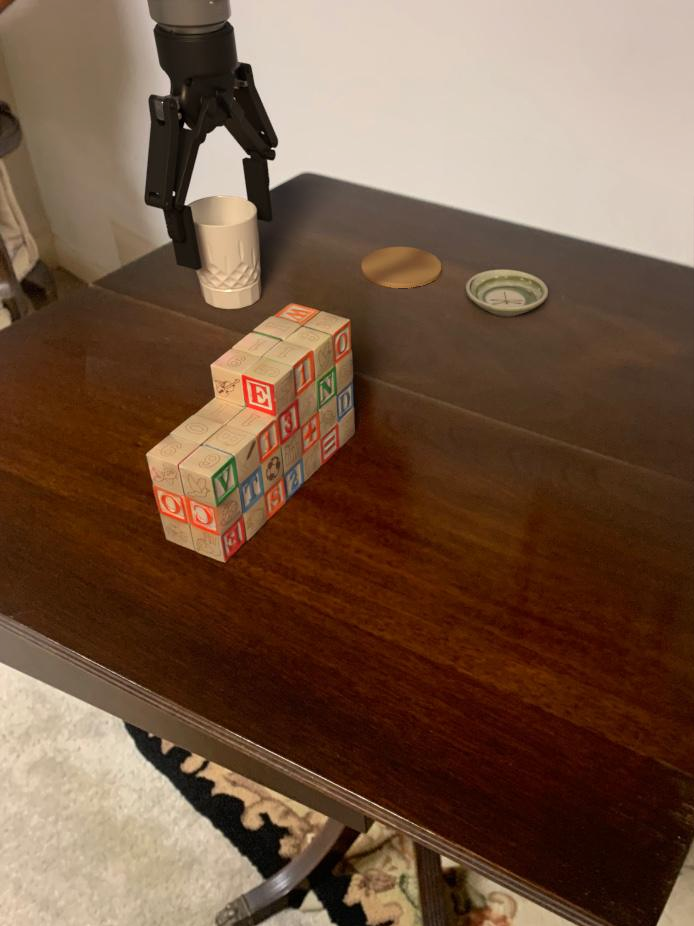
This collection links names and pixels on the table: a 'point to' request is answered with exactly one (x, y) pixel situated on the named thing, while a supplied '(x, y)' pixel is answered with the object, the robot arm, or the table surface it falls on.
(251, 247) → the white cup
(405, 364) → the table surface
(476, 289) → the saucer
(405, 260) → the cork coaster
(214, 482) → the stack of blocks
